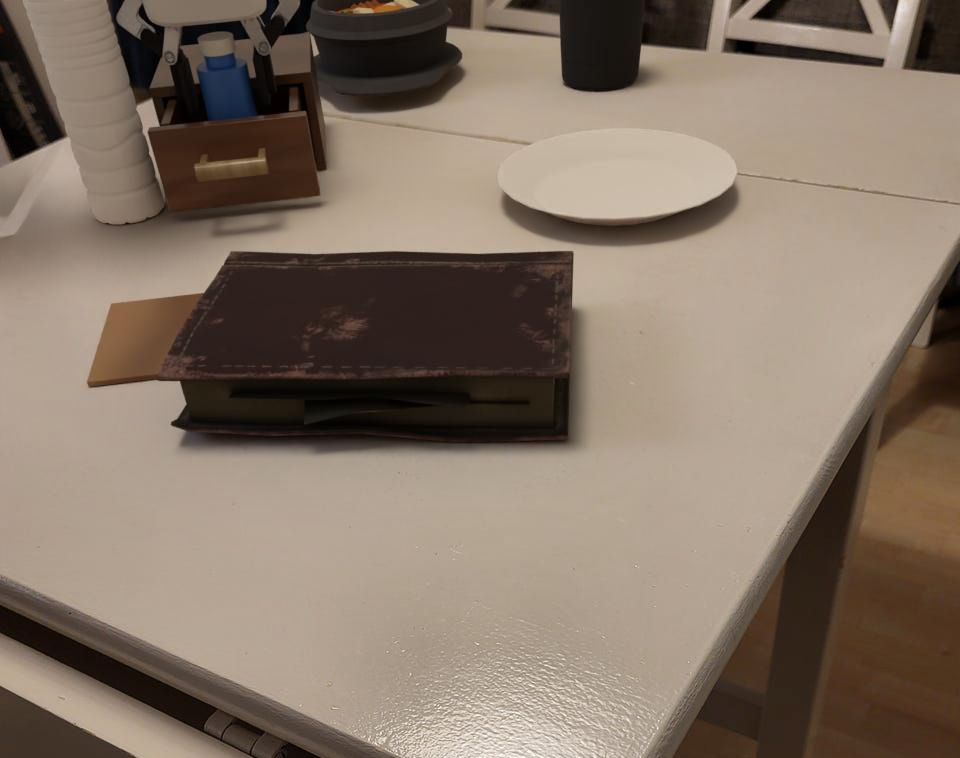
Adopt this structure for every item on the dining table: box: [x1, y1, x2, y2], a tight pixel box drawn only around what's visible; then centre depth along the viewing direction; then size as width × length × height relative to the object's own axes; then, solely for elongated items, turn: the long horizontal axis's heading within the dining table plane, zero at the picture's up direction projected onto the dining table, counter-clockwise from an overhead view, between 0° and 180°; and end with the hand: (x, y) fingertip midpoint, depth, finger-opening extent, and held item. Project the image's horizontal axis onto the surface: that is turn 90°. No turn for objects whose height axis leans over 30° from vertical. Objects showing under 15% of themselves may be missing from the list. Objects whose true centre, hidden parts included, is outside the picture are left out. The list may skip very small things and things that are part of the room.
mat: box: [86, 292, 204, 388], centre depth 72 cm, size 10×12×1 cm
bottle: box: [196, 31, 258, 121], centre depth 87 cm, size 4×4×11 cm
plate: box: [496, 127, 739, 227], centre depth 86 cm, size 21×21×2 cm
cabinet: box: [149, 32, 328, 172], centre depth 97 cm, size 14×15×9 cm
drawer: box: [147, 83, 321, 213], centre depth 89 cm, size 17×14×7 cm
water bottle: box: [22, 0, 165, 226], centre depth 82 cm, size 9×6×25 cm
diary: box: [156, 250, 575, 444], centre depth 65 cm, size 19×25×5 cm
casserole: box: [305, 0, 463, 97], centre depth 113 cm, size 25×19×8 cm
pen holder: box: [558, 0, 646, 92], centre depth 107 cm, size 9×9×10 cm
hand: (230, 103), depth 87 cm, fingers open, 5 cm apart
